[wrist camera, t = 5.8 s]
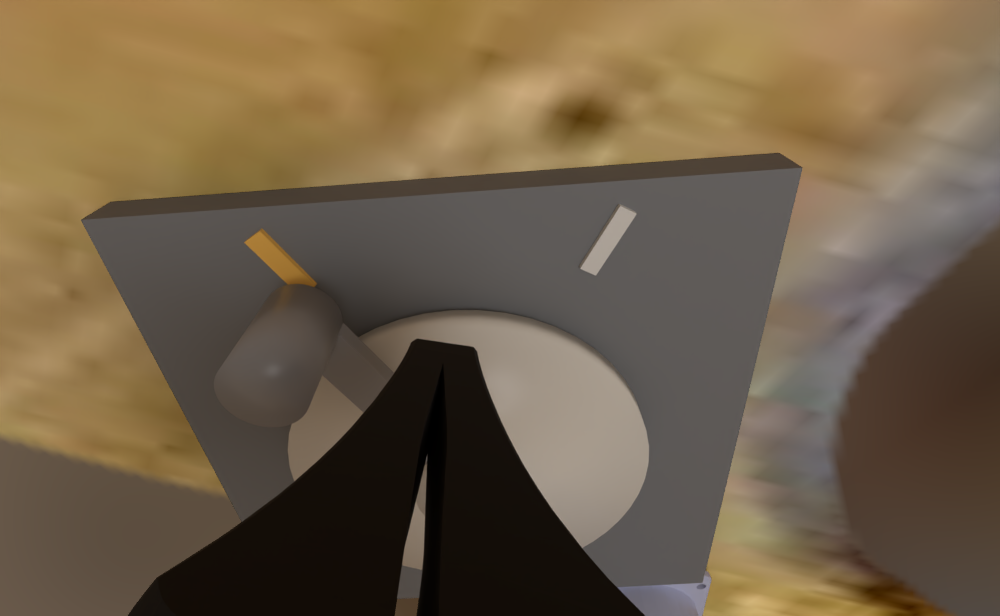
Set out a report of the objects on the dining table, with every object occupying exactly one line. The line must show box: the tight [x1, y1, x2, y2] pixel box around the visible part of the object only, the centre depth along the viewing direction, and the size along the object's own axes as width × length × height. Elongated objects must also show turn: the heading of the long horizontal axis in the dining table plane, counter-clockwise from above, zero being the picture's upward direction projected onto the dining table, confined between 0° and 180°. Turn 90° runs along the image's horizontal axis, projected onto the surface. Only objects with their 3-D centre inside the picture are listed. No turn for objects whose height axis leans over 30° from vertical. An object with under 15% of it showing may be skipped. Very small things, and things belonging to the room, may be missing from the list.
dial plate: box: [81, 153, 802, 599], centre depth 23 cm, size 22×22×2 cm
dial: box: [214, 284, 649, 570], centre depth 19 cm, size 17×14×5 cm
